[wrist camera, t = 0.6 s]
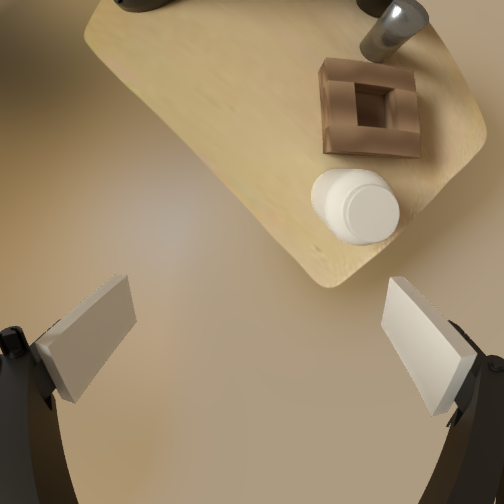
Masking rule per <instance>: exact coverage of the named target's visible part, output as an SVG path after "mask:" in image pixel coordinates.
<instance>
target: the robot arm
mask: <svg viewBox="0 0 504 504" xmlns="http://www.w3.org/2000/svg"><path fill="white" fill-rule="evenodd" d="M171 1H173V0H114V2H115V3H116V4H117V5H118V6H119V7H120V8H121V9H123V10H125V11H128V12H144V11H149V10H152V9H156V8H158V7H161V6H163V5H165V4H167V3H169V2H171ZM136 322H137V320H136V316H135V311H134V307H133V302H132V297H131V292H130V287H129V282H128V276H127V275H114V276H113V277H112V278H111V279H109V280H108V281H107V282H105V283H104V284H103V285H102V286H100V287H99V288H98V289H97V290H95V291H94V292H93V293H92V294H91V295H90V296H88V297H87V298H86V299H84V300H83V301H82V302H81V303H80V304H78V306H76V307H75V308H74V309H73V310H72V311H70V312H69V313H68V314H67V315H66V316H64V317H63V318H62V319H60V320H58V321H57V322H56V323H55V324H54V325H53V326H52V327H51V328H49V329H48V330H47V332H45V333H43V334H42V335H41V336H40V337H39V338H38V339H37V340H36V341H35V342H34V343H32V344H31V345H30V346H29V345H28V343H27V341H26V338H25V335H24V333H23V330H22V328H20V327H18V326H12V327H8V328H6V329H4V330H2V331H1V332H0V348H1V350H2V353H3V354H0V504H78V501H77V498H76V495H75V492H74V488H73V485H72V482H71V478H70V475H69V471H68V468H67V463H66V459H65V455H64V450H63V446H62V440H61V435H60V430H59V423H58V417H57V410H56V402H55V398H54V396H53V394H52V392H53V391H54V390H55V388H56V389H57V390H58V393H59V394H60V396H61V398H62V399H64V400H67V401H70V402H72V403H76V402H77V401H78V399H79V398H80V396H81V395H82V394H83V392H84V390H85V389H86V388H87V387H88V385H89V384H90V383H91V381H92V380H93V378H94V377H95V376H96V374H97V373H98V371H99V370H100V369H101V368H102V366H103V365H104V364H105V362H106V361H107V359H108V358H109V357H110V356H111V354H112V353H113V352H114V350H115V349H116V348H117V346H118V345H119V344H120V343H121V341H122V340H123V339H124V337H125V336H126V335H127V333H128V332H129V331H130V330H131V328H132V327H133V326H134V324H135V323H136ZM381 326H382V328H383V329H384V331H385V333H386V334H387V336H388V338H389V339H390V341H391V343H392V345H393V346H394V348H395V350H396V351H397V353H398V355H399V356H400V358H401V360H402V362H403V364H404V365H405V367H406V369H407V371H408V373H409V374H410V376H411V378H412V380H413V382H414V384H415V385H416V387H417V389H418V391H419V393H420V394H421V397H422V399H423V400H424V402H425V404H426V406H427V408H428V410H429V412H430V414H431V416H436V415H439V414H442V413H445V412H448V410H449V409H450V407H451V405H452V403H453V402H454V401H455V402H456V404H457V406H458V408H457V409H456V411H455V413H454V414H453V416H452V417H451V419H450V421H449V422H448V424H447V426H446V427H449V425H450V423H451V426H450V429H449V432H448V435H447V438H446V441H445V444H444V446H443V449H442V452H441V455H440V457H439V460H438V462H437V464H436V467H435V469H434V472H433V474H432V476H431V479H430V481H429V483H428V485H427V487H426V489H425V491H424V493H423V495H422V497H421V499H420V501H419V503H418V504H494V501H495V497H496V503H495V504H504V359H503V358H501V357H499V356H495V355H489V356H486V355H485V354H484V353H483V352H482V351H481V350H480V348H479V347H478V346H477V345H476V344H475V343H474V342H473V341H472V340H471V339H470V338H469V336H468V335H467V334H465V332H464V331H463V330H462V329H461V328H460V327H459V326H458V325H457V324H455V323H453V322H452V321H450V320H446V319H445V317H444V316H443V315H442V314H441V313H440V312H439V311H438V310H437V309H436V308H435V307H434V306H433V305H432V304H431V303H430V302H429V301H428V300H427V299H426V298H425V297H424V296H423V295H422V294H421V293H420V292H419V291H418V290H417V289H416V288H415V287H414V286H413V285H412V284H411V283H410V282H409V281H407V280H406V279H405V278H404V277H403V276H401V277H390V280H389V286H388V292H387V298H386V303H385V308H384V313H383V318H382V322H381Z"/></svg>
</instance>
